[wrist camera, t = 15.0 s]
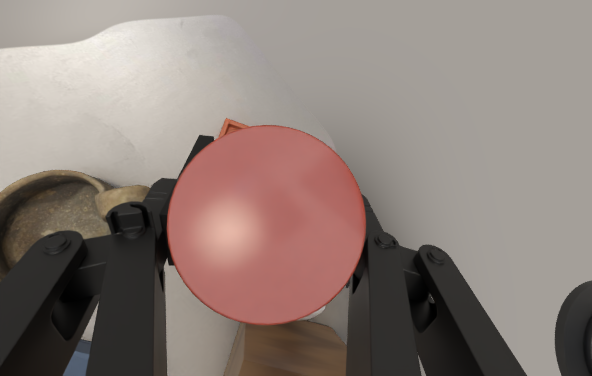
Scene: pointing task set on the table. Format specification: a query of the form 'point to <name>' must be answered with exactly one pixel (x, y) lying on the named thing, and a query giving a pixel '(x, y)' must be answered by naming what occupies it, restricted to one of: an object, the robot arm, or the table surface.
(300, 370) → the brown wooden block
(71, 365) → the blue tray
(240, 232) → the red cylinder
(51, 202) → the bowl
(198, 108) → the table surface
